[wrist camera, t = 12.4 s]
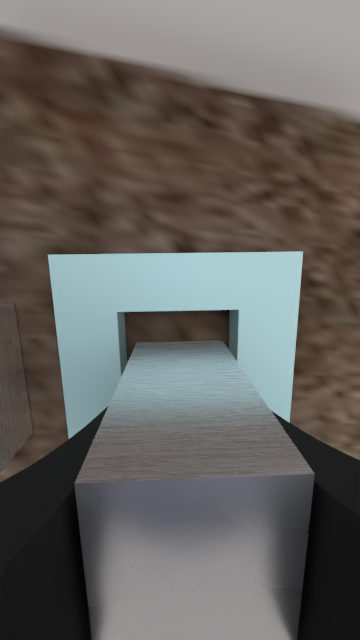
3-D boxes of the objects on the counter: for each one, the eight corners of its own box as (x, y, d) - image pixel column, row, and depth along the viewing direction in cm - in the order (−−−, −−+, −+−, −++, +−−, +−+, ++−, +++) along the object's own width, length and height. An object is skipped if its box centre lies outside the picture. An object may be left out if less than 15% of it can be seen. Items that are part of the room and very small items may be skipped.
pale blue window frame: (86, 465, 17) (74, 492, 15) (64, 256, 14) (47, 254, 12) (271, 458, 17) (284, 483, 15) (285, 253, 14) (303, 251, 12)
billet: (141, 446, 13) (100, 709, 5) (136, 342, 12) (74, 483, 4) (220, 444, 13) (291, 696, 6) (222, 340, 12) (314, 473, 4)
